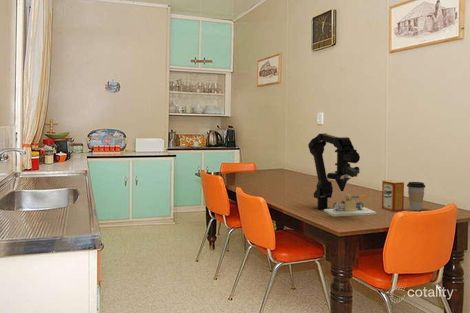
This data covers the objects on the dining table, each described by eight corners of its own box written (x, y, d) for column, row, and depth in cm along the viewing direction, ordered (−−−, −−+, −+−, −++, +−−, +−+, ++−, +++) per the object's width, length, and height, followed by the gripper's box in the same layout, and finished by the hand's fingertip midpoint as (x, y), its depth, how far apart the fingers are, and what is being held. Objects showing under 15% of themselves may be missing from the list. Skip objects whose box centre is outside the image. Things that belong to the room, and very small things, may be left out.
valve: (336, 211, 216) (336, 200, 215) (332, 209, 221) (332, 198, 221) (364, 210, 218) (364, 199, 218) (359, 208, 224) (360, 197, 223)
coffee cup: (428, 211, 221) (429, 183, 220) (412, 211, 220) (413, 184, 218) (418, 207, 230) (418, 181, 229) (402, 208, 229) (403, 181, 228)
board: (323, 211, 223) (323, 209, 223) (364, 209, 227) (364, 207, 227) (333, 216, 210) (333, 214, 210) (376, 214, 214) (376, 212, 214)
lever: (346, 199, 217) (346, 195, 217) (344, 198, 221) (344, 194, 221) (367, 198, 218) (367, 195, 218) (365, 197, 221) (365, 194, 221)
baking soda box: (381, 208, 229) (382, 180, 228) (391, 207, 232) (392, 179, 230) (393, 211, 221) (394, 182, 219) (403, 210, 223) (404, 181, 221)
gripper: (344, 164, 199) (344, 195, 200) (366, 161, 211) (365, 191, 212) (326, 162, 208) (326, 192, 209) (348, 159, 219) (347, 188, 221)
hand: (342, 191), depth 212 cm, fingers closed
